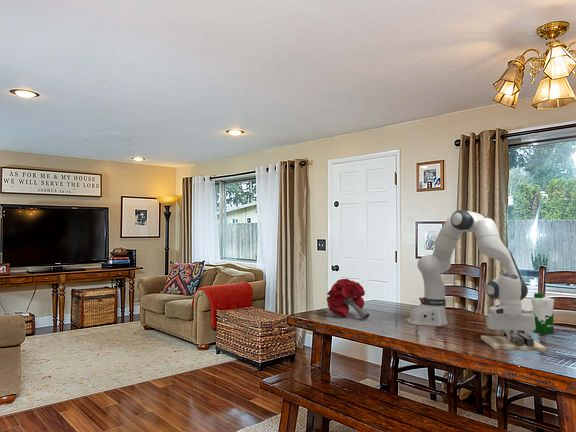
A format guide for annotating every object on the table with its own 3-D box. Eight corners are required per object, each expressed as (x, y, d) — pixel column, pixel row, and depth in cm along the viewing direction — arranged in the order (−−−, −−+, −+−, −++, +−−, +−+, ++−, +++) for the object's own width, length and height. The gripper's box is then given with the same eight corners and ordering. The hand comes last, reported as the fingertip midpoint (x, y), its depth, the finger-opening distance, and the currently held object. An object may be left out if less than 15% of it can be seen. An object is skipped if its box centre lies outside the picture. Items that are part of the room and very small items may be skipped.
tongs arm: (508, 338, 199) (508, 331, 199) (514, 338, 198) (513, 332, 198) (517, 345, 186) (517, 338, 186) (524, 345, 186) (524, 338, 186)
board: (494, 348, 187) (494, 345, 187) (480, 338, 204) (480, 335, 204) (546, 351, 184) (546, 347, 184) (528, 340, 202) (528, 337, 202)
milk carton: (539, 329, 224) (539, 292, 225) (556, 333, 216) (556, 295, 217) (529, 331, 220) (529, 293, 221) (546, 335, 212) (546, 296, 213)
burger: (499, 335, 212) (499, 320, 212) (513, 333, 217) (513, 318, 218) (522, 341, 201) (522, 325, 201) (536, 338, 207) (536, 323, 207)
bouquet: (371, 327, 254) (339, 297, 273) (385, 297, 245) (351, 268, 264) (348, 335, 240) (316, 303, 260) (362, 303, 231) (328, 273, 251)
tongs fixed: (505, 336, 202) (505, 327, 202) (517, 337, 201) (517, 327, 201) (520, 346, 186) (520, 335, 186) (533, 346, 185) (533, 336, 185)
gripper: (531, 309, 194) (532, 339, 193) (485, 307, 196) (485, 337, 196) (537, 311, 187) (538, 342, 187) (489, 309, 190) (490, 340, 189)
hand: (511, 339), depth 191 cm, fingers closed
